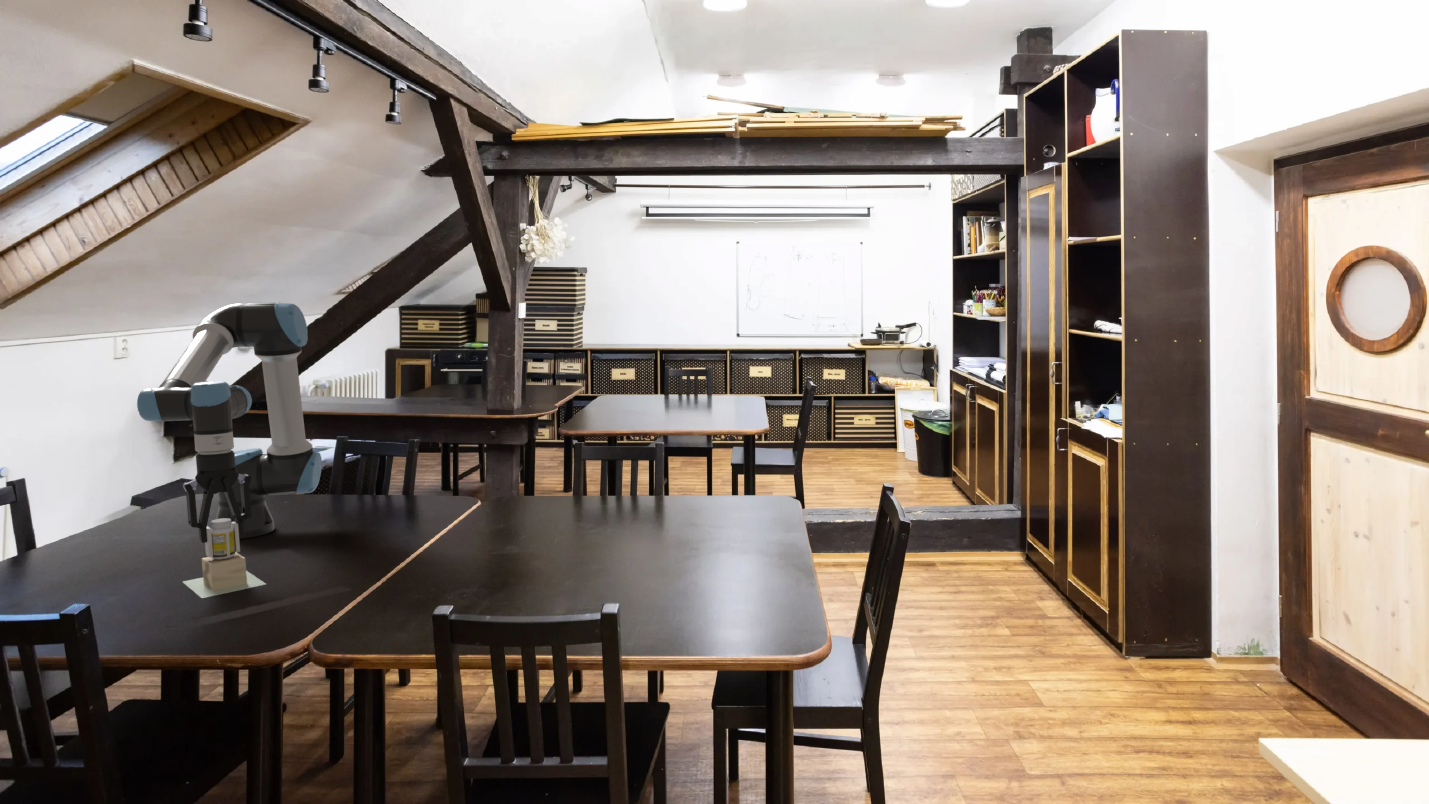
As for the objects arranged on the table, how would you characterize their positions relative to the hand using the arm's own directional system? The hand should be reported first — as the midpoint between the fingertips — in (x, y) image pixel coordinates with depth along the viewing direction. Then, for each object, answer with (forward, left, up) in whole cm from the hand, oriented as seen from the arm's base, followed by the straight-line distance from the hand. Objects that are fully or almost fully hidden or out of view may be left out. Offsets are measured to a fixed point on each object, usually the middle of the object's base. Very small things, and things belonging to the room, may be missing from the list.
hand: (223, 553), depth 196 cm
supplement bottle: (0, 0, -1) cm, 1 cm away
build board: (-1, 0, -8) cm, 8 cm away
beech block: (0, 0, -7) cm, 7 cm away
